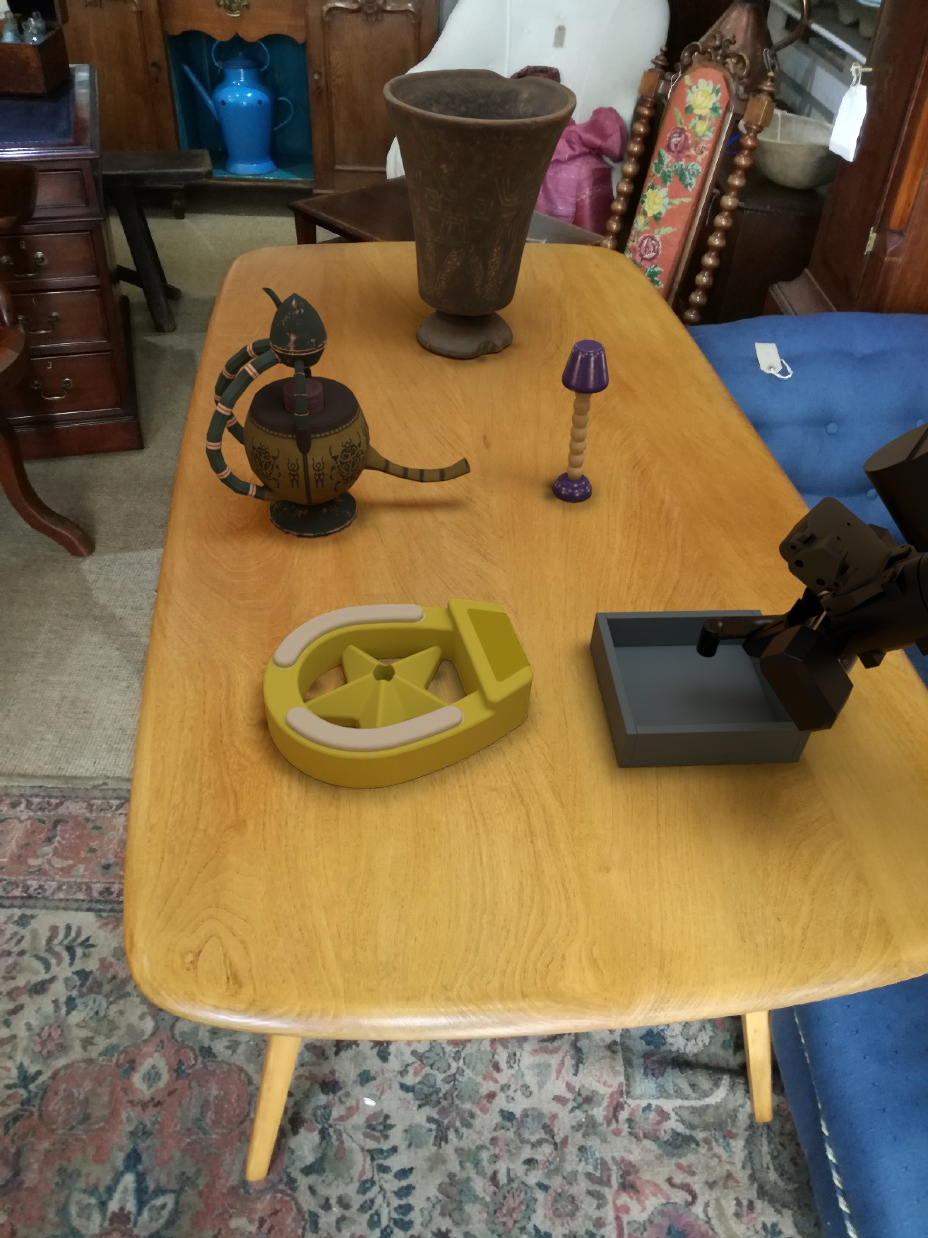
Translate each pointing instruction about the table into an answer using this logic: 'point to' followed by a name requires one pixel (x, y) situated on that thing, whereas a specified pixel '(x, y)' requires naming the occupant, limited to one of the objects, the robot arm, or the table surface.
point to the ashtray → (395, 690)
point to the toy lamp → (581, 413)
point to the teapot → (300, 430)
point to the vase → (473, 191)
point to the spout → (729, 631)
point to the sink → (686, 694)
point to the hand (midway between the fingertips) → (745, 647)
